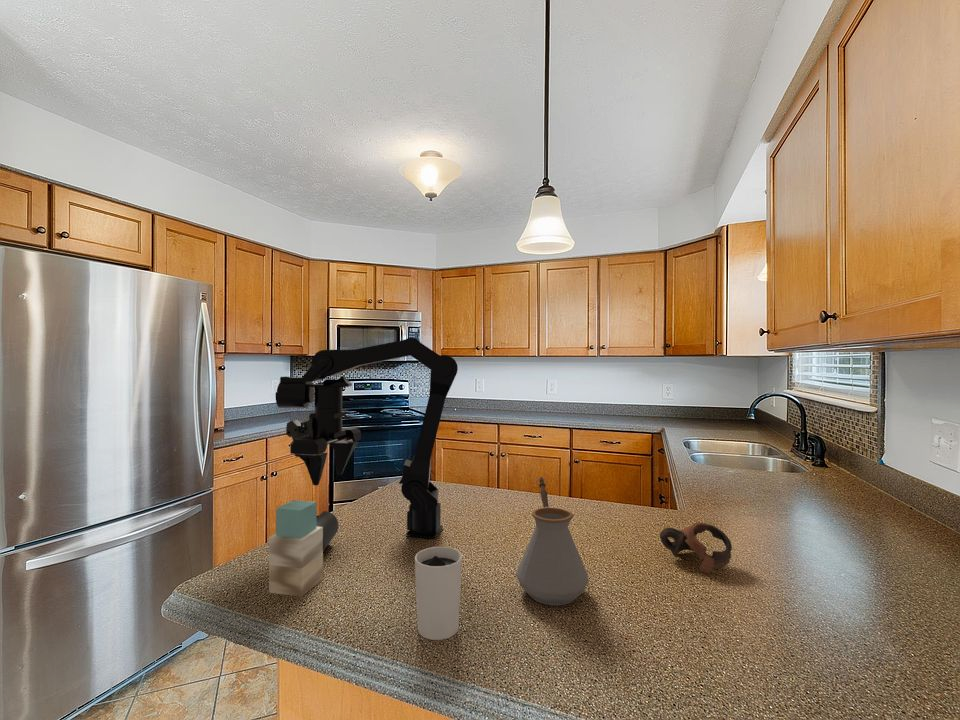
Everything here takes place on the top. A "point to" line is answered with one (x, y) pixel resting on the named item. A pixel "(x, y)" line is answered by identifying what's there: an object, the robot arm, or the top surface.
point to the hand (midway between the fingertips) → (328, 479)
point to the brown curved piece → (697, 545)
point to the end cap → (327, 526)
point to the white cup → (438, 591)
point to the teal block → (296, 519)
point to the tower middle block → (295, 549)
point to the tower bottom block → (295, 578)
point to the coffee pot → (552, 558)
